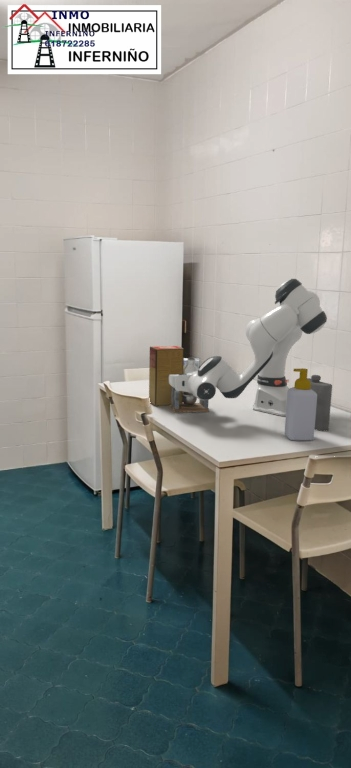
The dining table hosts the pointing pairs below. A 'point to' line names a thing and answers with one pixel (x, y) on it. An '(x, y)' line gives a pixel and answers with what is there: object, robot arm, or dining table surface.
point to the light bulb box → (195, 364)
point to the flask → (321, 402)
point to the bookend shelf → (182, 407)
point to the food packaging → (164, 373)
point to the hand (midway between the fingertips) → (189, 376)
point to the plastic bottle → (189, 368)
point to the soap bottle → (301, 409)
